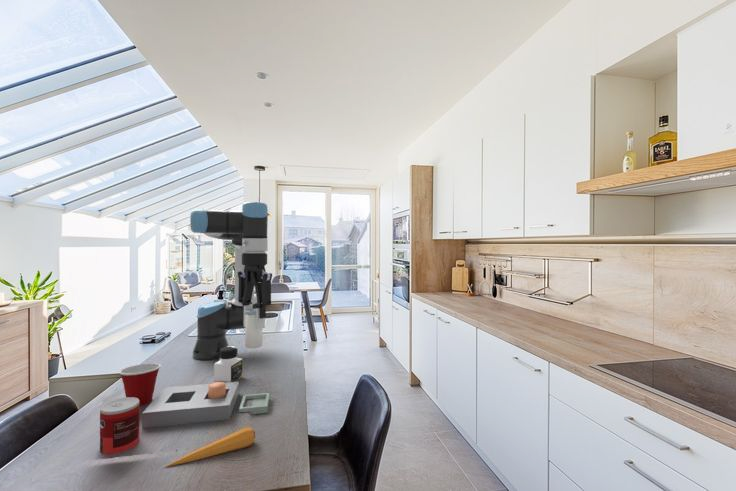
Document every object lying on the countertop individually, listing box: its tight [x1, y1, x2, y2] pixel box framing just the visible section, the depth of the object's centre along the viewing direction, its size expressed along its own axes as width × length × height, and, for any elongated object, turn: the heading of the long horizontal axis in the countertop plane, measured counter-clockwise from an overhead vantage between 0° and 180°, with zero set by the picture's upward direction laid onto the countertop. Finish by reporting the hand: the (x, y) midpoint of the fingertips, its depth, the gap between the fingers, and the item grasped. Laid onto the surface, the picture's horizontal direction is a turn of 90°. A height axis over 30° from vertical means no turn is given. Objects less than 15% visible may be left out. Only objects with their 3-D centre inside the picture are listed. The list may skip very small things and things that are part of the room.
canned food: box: [99, 396, 141, 458], centre depth 81 cm, size 8×8×11 cm
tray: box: [238, 392, 270, 415], centre depth 102 cm, size 9×8×2 cm
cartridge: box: [244, 309, 263, 349], centre depth 102 cm, size 5×5×11 cm
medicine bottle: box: [213, 345, 243, 383], centre depth 122 cm, size 7×7×12 cm
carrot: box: [164, 426, 256, 468], centre depth 79 cm, size 20×4×4 cm, turn 119°
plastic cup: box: [118, 362, 161, 407], centre depth 102 cm, size 11×11×12 cm
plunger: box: [208, 381, 227, 399], centre depth 100 cm, size 5×5×6 cm
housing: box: [141, 381, 240, 429], centre depth 98 cm, size 16×22×5 cm
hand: (254, 327), depth 102 cm, fingers closed on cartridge, 5 cm apart
